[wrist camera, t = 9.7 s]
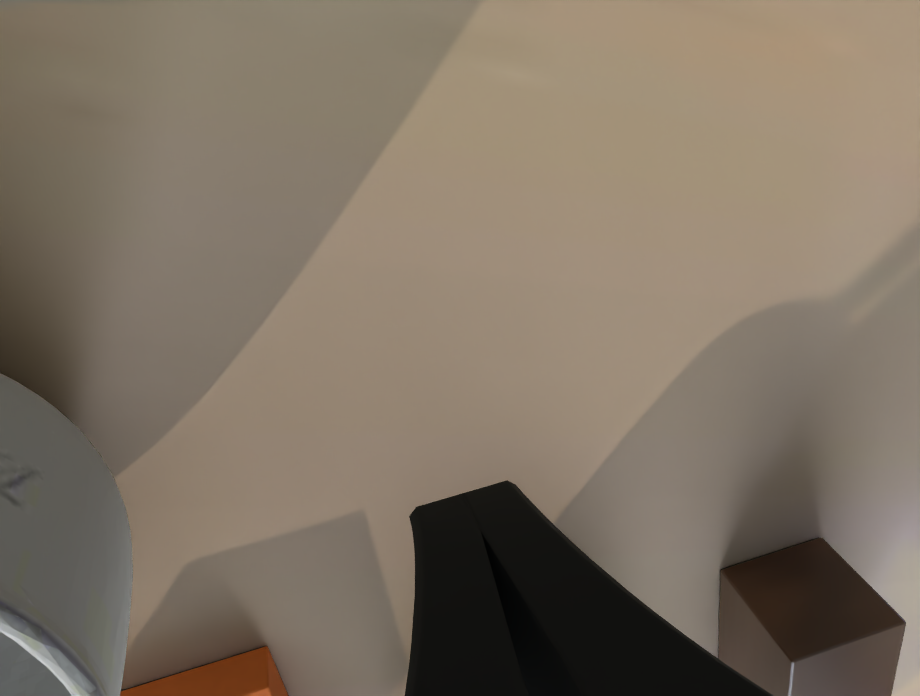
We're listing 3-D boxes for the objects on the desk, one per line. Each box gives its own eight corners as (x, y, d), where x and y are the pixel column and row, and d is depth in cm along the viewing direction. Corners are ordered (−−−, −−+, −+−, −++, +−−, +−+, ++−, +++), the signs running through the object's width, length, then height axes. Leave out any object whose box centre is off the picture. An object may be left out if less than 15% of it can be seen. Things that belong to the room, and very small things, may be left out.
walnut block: (821, 536, 26) (907, 622, 23) (805, 680, 30) (876, 771, 27) (719, 568, 26) (792, 662, 22) (716, 711, 30) (777, 809, 26)
